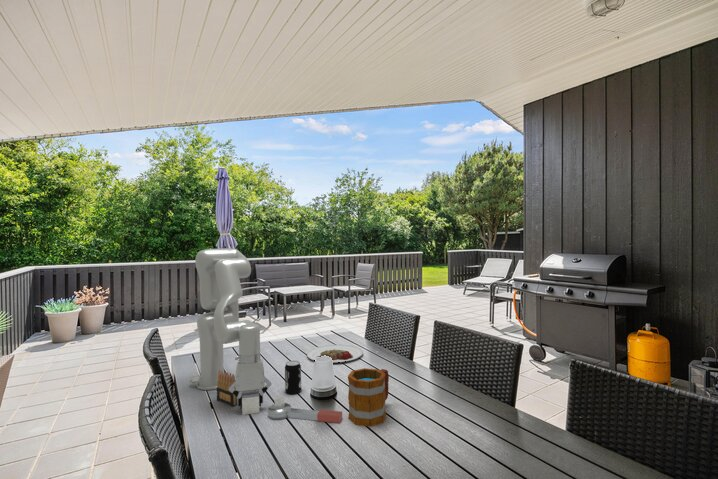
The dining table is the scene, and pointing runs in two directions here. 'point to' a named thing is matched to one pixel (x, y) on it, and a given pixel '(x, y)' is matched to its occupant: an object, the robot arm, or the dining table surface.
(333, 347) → the plated food
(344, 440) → the dining table surface
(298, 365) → the beverage can
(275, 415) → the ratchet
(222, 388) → the ammunition clip
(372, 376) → the mug
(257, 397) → the brushed metal block
